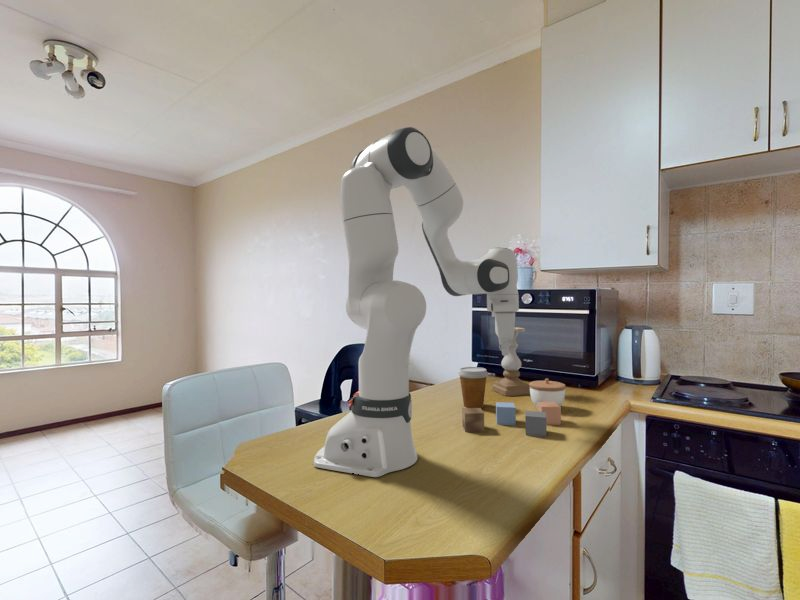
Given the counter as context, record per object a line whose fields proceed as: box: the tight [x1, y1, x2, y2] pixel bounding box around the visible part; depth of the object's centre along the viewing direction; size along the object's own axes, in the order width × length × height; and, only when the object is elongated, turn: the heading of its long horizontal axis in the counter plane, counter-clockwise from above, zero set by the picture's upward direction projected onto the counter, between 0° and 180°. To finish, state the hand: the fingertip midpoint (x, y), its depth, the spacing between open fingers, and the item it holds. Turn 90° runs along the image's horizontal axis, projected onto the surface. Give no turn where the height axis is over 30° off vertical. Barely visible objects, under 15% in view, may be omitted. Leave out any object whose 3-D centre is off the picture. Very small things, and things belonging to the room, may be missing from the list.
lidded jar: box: [528, 378, 566, 409], centre depth 123 cm, size 11×11×9 cm
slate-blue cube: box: [495, 401, 517, 426], centre depth 110 cm, size 5×5×5 cm
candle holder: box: [491, 326, 530, 397], centre depth 145 cm, size 11×11×24 cm
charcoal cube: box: [524, 410, 548, 438], centre depth 100 cm, size 5×5×5 cm
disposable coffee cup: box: [458, 366, 489, 409], centre depth 127 cm, size 10×10×12 cm
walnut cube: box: [461, 407, 485, 433], centre depth 105 cm, size 5×5×5 cm
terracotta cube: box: [537, 402, 562, 426], centre depth 109 cm, size 5×5×5 cm
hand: (503, 352), depth 112 cm, fingers open, 8 cm apart
